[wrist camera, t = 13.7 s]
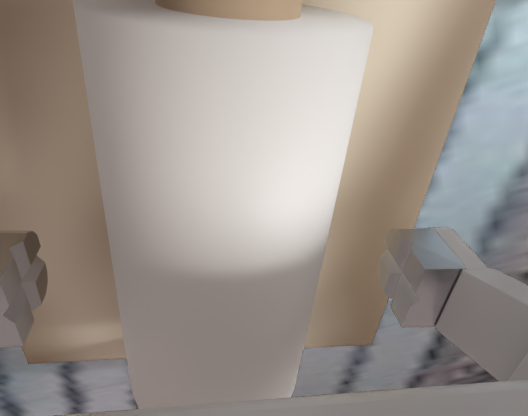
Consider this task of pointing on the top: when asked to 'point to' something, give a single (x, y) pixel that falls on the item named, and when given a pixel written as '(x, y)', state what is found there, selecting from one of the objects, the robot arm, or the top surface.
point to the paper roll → (218, 181)
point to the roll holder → (348, 197)
